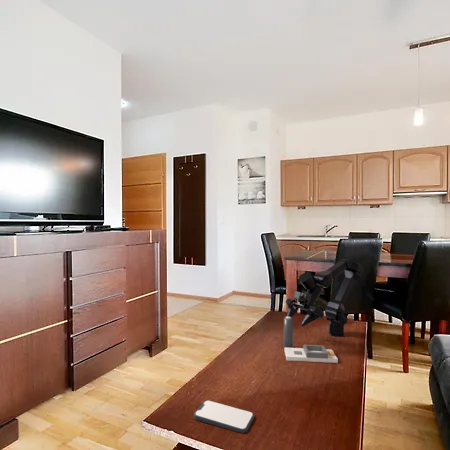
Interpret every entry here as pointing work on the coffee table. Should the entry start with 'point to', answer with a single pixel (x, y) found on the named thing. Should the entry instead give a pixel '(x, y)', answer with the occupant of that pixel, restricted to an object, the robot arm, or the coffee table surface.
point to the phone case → (224, 416)
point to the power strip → (311, 354)
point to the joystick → (288, 332)
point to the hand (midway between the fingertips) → (294, 323)
